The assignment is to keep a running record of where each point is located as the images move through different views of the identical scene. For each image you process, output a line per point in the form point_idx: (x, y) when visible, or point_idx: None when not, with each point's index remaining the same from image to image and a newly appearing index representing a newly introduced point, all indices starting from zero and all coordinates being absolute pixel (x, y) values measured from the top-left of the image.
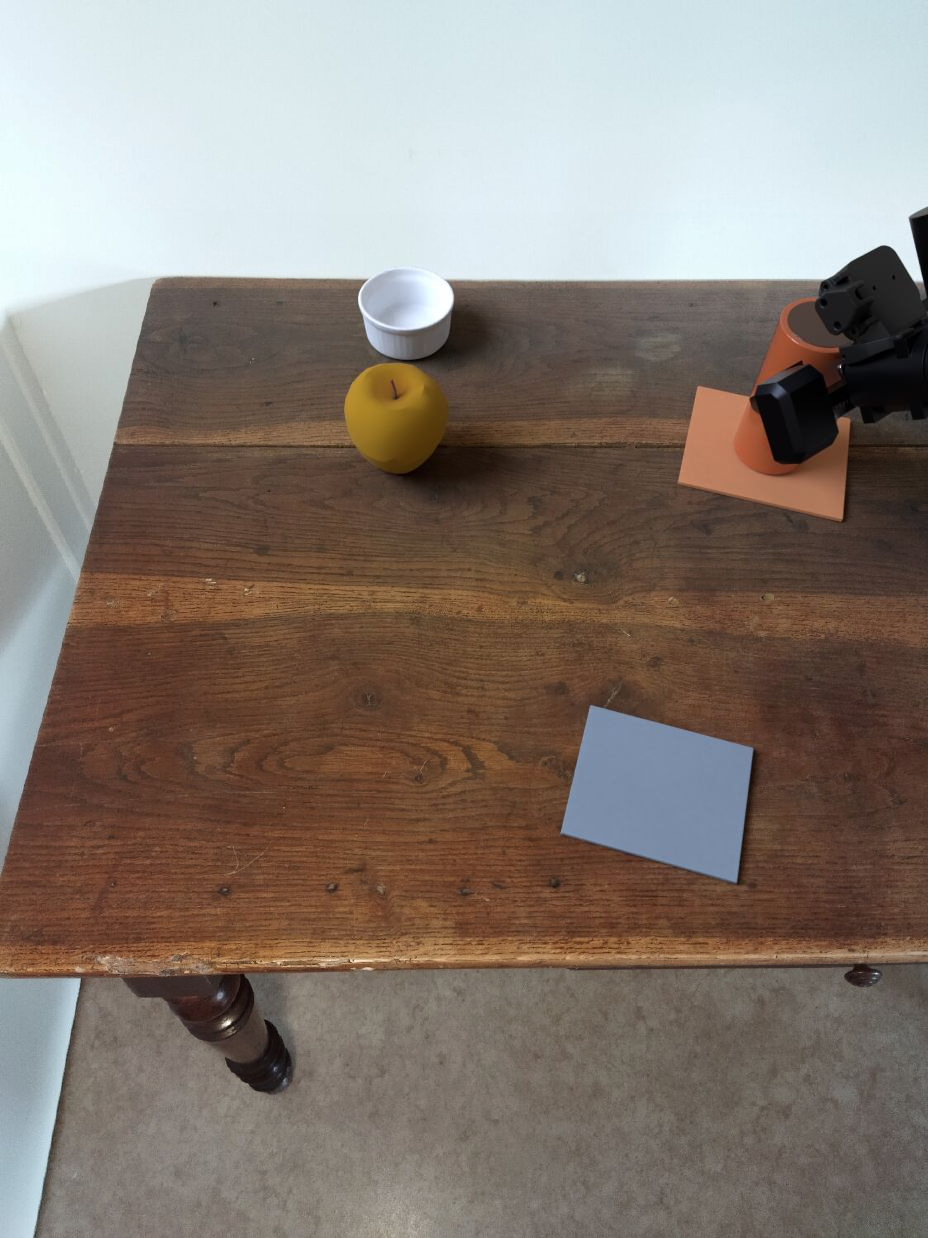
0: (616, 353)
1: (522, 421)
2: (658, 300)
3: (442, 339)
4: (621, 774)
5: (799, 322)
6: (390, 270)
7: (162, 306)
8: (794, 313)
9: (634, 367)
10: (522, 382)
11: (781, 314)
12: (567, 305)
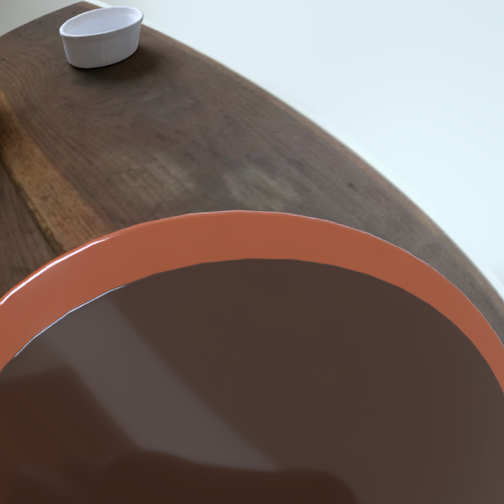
0: (207, 158)
1: (41, 151)
2: (323, 155)
3: (95, 58)
4: None
5: (120, 437)
6: (125, 7)
7: (60, 9)
8: (209, 316)
9: (202, 185)
10: (94, 121)
11: (127, 229)
12: (232, 98)
